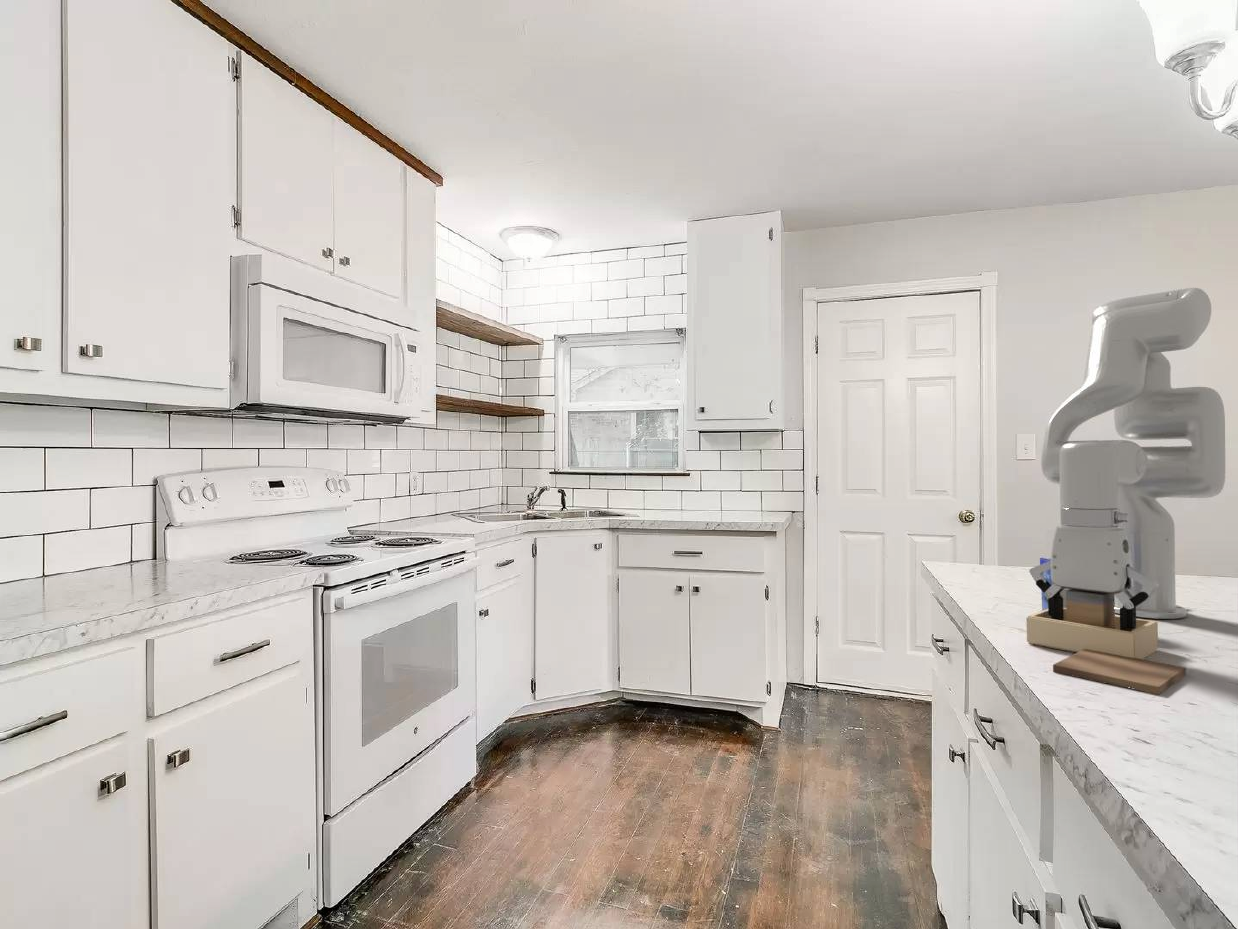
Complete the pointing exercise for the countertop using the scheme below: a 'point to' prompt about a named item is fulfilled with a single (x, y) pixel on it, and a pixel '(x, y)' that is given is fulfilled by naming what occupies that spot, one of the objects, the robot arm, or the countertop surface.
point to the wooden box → (1092, 636)
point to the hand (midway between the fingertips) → (1090, 626)
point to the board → (1121, 670)
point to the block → (1090, 608)
